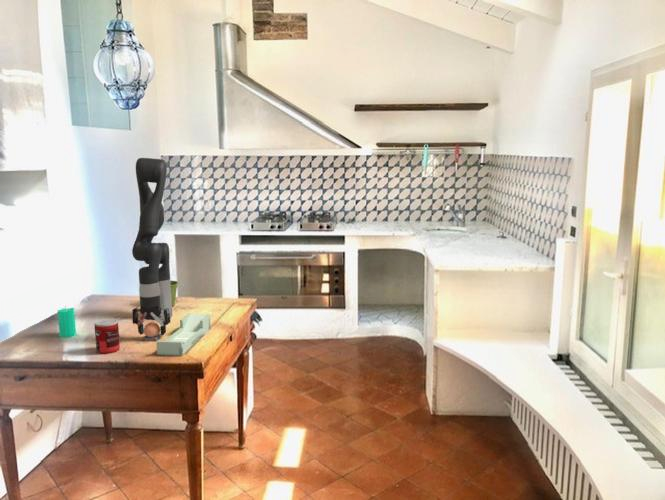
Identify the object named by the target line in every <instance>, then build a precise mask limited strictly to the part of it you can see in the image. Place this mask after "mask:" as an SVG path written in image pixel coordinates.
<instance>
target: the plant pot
mask: <svg viewBox="0 0 665 500" xmlns="http://www.w3.org/2000/svg"><path fill="white" fill-rule="evenodd" d="M170 284H171V301H172V307H174V306H175V304H176V296H177V290H178V285H179V284H180V283H179V281H177V280H171V279H170Z"/></svg>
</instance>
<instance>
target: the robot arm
mask: <svg viewBox="0 0 665 500" xmlns="http://www.w3.org/2000/svg"><path fill="white" fill-rule="evenodd" d="M167 170H168V167H167V162H166V161H165V160H164V159H162V158H161V159H160V158H150V157H139V158H138V159H137V160H136V162H135V175H136V182H137V188H138V195H139V213H140V214H139V223H138V231H137V236H136V238H135V241H134V242H133V246H132V249H131V251H132V252H131V253H132V257H133V258H134V260H136V261H138V262H144V263H145V264H146V265H148V266H144V267H143V266H142V267H141V268H139V270H138V283H139V286H138V287H139V288H138V292H139V293H138V295H139V306H140V308H139V307H138V306H137V307H134V308H133V309H132V318H131V319H132V324H134V325H136V326H137V332H138V334H139V335H144V334H145V333H144V328H145V326H144V323H145V321H146V320H147V321H149V320H151V321H156V322H157V324H158V325H159V327H160V333H161V335H162V336H164V335H165V334H166V332H167V327H166V326H167V325H169V324H171V323H172V322H171V318H172V317H173V306H172V301H171V284H170V280H171V271H170V248H169V247H170V246H169V244H168V243H167V242H153V240H154V238H155V237H157V236H158V234H159V231H160V229H161V228H163V225H164V223H165V209H164V208H165V207H164V206H163V203H162V202H163V198H164V191H165V187H166V180H167V172H168V171H167ZM149 183H153V184H155V189H154V191H152V189H151V188H150V185H149ZM160 265H161V266H160ZM139 313H140V314H141V317H140V319H139Z"/></svg>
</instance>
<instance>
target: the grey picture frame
mask: <svg viewBox="0 0 665 500" xmlns="http://www.w3.org/2000/svg"><path fill="white" fill-rule="evenodd" d="M162 337H163V335H161V332H160V333H159V335H158V336H156V337H147V336H146V335H145V334H144V336H143V337H142V342H157V341H160V339H161V338H162Z"/></svg>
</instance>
